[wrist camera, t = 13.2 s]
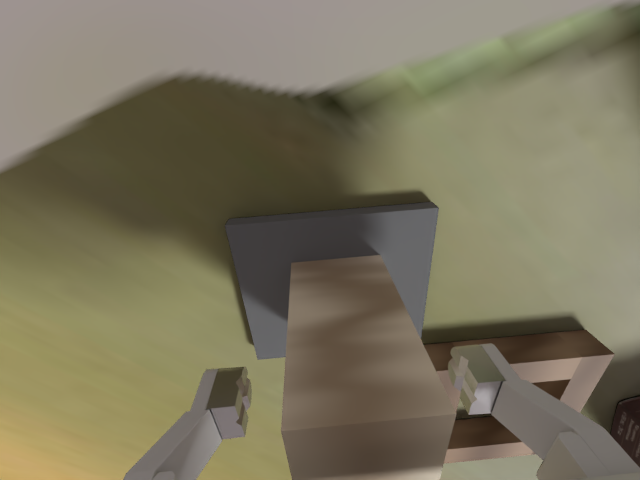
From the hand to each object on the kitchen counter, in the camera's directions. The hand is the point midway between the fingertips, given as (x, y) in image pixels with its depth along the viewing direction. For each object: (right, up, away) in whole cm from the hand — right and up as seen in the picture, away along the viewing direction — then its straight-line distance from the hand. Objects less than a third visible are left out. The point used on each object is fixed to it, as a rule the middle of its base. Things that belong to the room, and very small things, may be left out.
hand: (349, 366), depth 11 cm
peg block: (0, +2, +4) cm, 5 cm away
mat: (0, +2, +5) cm, 5 cm away
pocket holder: (+11, -6, +10) cm, 16 cm away
